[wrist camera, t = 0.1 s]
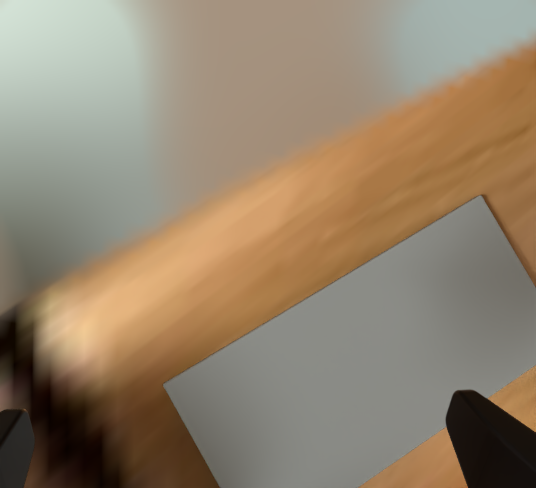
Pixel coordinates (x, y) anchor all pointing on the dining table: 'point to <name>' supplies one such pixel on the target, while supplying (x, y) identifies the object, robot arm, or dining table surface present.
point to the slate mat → (365, 361)
